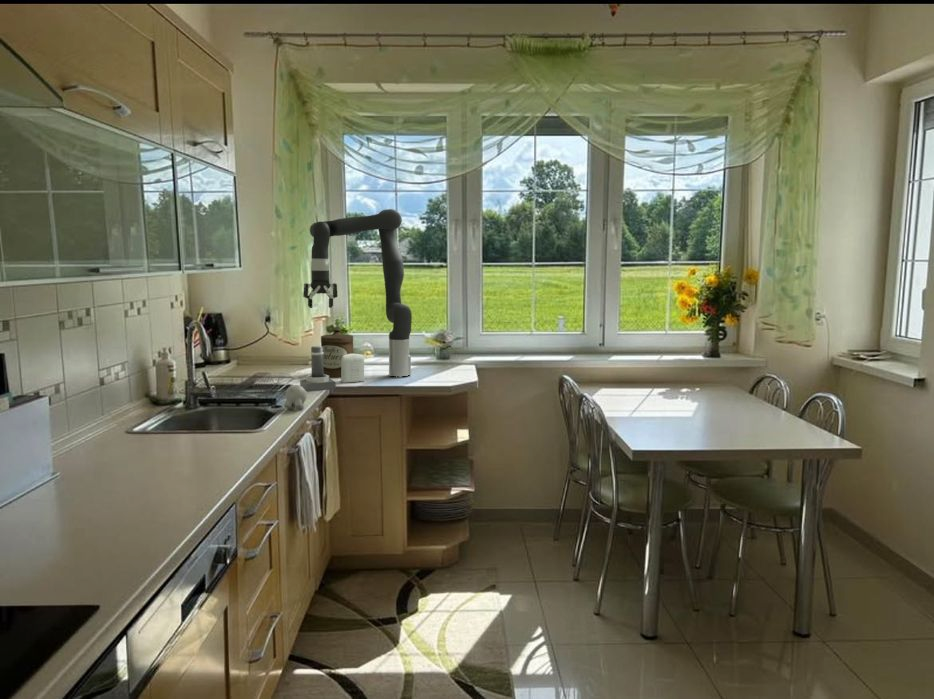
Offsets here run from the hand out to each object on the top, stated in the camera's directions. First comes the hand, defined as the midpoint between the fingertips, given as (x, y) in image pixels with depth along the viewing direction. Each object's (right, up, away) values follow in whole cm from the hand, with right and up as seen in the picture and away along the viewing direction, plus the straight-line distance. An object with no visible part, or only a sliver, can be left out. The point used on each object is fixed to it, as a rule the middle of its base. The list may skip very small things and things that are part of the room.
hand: (320, 307), depth 274 cm
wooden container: (+3, -30, +22) cm, 37 cm away
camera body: (+1, -34, -10) cm, 35 cm away
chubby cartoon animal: (+2, -39, -46) cm, 61 cm away
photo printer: (+13, -32, +5) cm, 35 cm away
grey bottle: (+1, -31, -10) cm, 32 cm away
